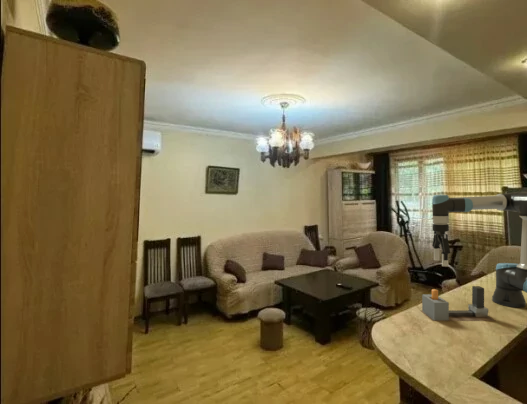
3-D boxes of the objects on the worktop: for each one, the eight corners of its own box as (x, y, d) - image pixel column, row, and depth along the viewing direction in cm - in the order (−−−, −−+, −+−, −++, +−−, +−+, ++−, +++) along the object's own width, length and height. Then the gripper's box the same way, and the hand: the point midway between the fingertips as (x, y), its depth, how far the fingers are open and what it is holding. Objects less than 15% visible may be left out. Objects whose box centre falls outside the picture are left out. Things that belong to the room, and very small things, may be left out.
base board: (478, 311, 161) (478, 310, 161) (496, 322, 148) (496, 320, 148) (419, 312, 161) (419, 310, 161) (432, 322, 148) (432, 320, 148)
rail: (481, 314, 156) (481, 310, 156) (486, 316, 153) (486, 312, 153) (440, 314, 156) (440, 310, 156) (443, 316, 153) (443, 312, 153)
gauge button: (436, 304, 156) (436, 289, 156) (439, 306, 153) (439, 291, 153) (430, 304, 156) (430, 289, 156) (433, 306, 153) (433, 291, 153)
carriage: (479, 312, 157) (480, 285, 157) (488, 317, 151) (488, 289, 151) (468, 312, 157) (468, 285, 157) (476, 317, 151) (476, 289, 151)
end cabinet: (435, 310, 161) (435, 294, 160) (448, 320, 149) (448, 302, 148) (422, 310, 161) (422, 294, 161) (434, 320, 149) (434, 302, 149)
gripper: (426, 221, 172) (426, 257, 173) (440, 226, 148) (440, 268, 149) (440, 221, 170) (440, 258, 171) (457, 226, 146) (457, 269, 147)
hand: (440, 263), depth 160 cm, fingers open, 13 cm apart
